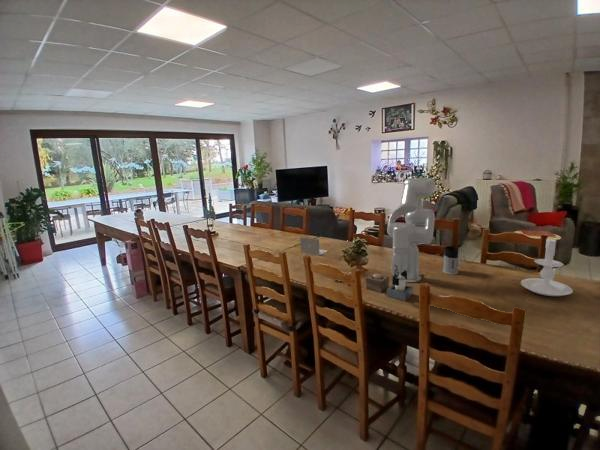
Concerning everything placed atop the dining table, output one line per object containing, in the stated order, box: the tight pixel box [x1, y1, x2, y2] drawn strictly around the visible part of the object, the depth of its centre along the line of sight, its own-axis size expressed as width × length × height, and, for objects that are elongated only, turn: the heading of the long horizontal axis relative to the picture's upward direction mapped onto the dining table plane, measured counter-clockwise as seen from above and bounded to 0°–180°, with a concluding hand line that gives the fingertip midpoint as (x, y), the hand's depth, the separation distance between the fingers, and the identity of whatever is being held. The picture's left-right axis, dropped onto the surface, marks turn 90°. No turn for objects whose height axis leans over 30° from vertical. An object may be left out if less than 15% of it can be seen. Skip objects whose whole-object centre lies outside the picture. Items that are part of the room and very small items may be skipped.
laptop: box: [299, 236, 329, 256], centre depth 244 cm, size 18×12×13 cm
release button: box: [373, 273, 383, 280], centre depth 173 cm, size 5×5×6 cm
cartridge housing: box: [386, 284, 414, 302], centre depth 163 cm, size 10×10×4 cm
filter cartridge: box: [395, 275, 406, 292], centre depth 162 cm, size 5×5×10 cm
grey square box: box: [365, 273, 390, 293], centre depth 173 cm, size 9×9×6 cm
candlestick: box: [520, 238, 574, 297], centre depth 156 cm, size 21×25×28 cm
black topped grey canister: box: [442, 245, 466, 275], centre depth 186 cm, size 9×14×15 cm, turn 18°
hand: (399, 282), depth 161 cm, fingers open, 9 cm apart
